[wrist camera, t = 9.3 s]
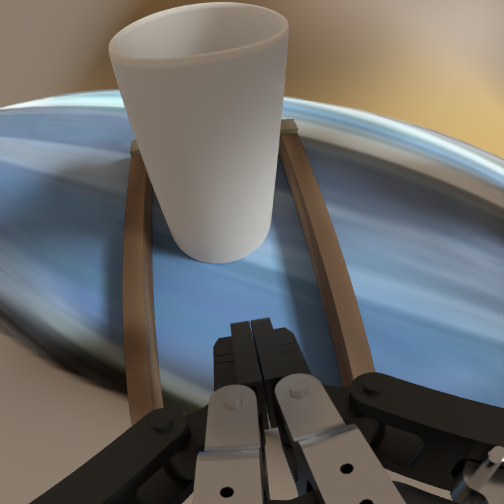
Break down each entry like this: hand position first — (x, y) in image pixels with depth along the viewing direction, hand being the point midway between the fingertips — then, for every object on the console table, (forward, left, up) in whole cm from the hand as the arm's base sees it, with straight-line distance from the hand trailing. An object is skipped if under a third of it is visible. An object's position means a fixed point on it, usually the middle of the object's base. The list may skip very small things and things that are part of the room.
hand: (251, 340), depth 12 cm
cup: (+1, -12, -9) cm, 15 cm away
